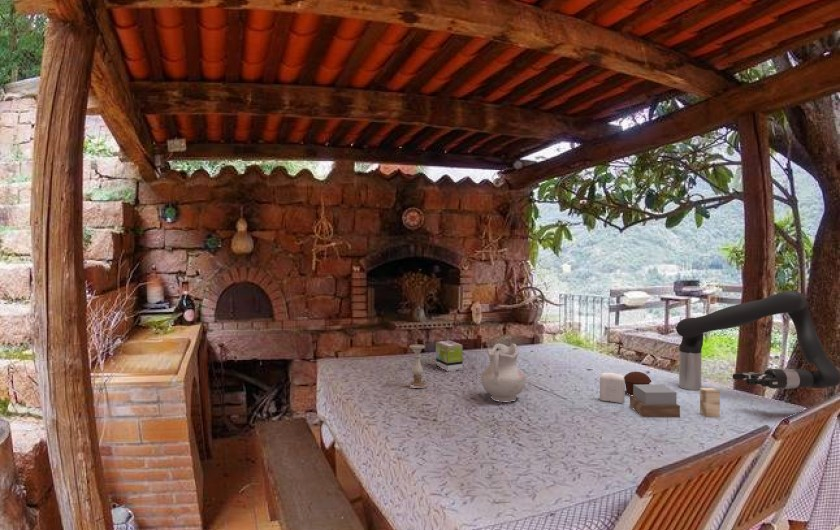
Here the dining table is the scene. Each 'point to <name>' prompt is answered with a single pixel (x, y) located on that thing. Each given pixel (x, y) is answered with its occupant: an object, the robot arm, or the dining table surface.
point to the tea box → (449, 355)
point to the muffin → (635, 380)
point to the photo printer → (612, 387)
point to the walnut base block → (655, 409)
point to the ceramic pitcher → (503, 373)
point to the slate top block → (654, 394)
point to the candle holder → (417, 365)
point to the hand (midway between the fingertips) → (739, 379)
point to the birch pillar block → (710, 402)
